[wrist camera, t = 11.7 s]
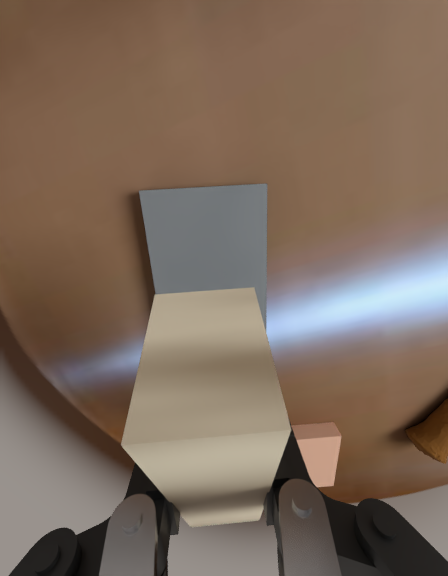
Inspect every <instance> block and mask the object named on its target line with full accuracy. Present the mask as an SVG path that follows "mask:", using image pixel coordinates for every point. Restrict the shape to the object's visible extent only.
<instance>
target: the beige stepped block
mask: <svg viewBox="0 0 448 576" xmlns="http://www.w3.org/2000/svg"><path fill="white" fill-rule="evenodd" d="M290 432H291V427H290V423H289V419H288V415H287V411H286V407H285V404H284V400H283V396H282V392H281V388H280V384H279V381H278V377H277V373H276V369H275V365H274V361H273V357H272V354H271V350H270V346H269V342H268V338H267V334H266V331H265V327H264V323H263V319H262V315H261V311H260V307H259V304H258V300H257V296H256V292H255V288H254V287H252V288H238V289H224V290H210V291H196V292H182V293H168V294H155V296H154V301H153V305H152V309H151V314H150V318H149V323H148V327H147V332H146V336H145V341H144V345H143V350H142V354H141V358H140V363H139V367H138V372H137V376H136V381H135V385H134V390H133V394H132V399H131V403H130V407H129V412H128V416H127V421H126V425H125V430H124V434H123V439H122V443H121V446H122V447H123V448H124V449H125V451H126V452H127V453H128V454H129V455H130V456H131V458H132V459H133V460H134V461H135V462H136V464H137V465H138V466H139V467H140V468H141V469H142V471H143V472H144V473H145V474H146V475H147V476H148V478H149V479H150V480H151V481H152V482H153V484H154V485H155V486H156V487H157V488H158V489H159V491H160V492H161V493H162V494H163V495H164V496H165V498H166V499H167V500H168V501H169V502H172V503H173V504H174V505H175V507H176V508H177V509H178V510H179V511H180V515H181V516H182V517H183V519H184V520H185V521H186V522H187V523H188V525H189V526H190V527H197V526H208V525H218V524H227V523H238V522H248V521H257V520H259V519H260V517H261V514H262V511H263V508H264V506H263V503H264V500H265V497H266V494H267V492H269V491H270V489H271V486H272V483H273V480H274V477H275V474H276V472H277V469H278V466H279V463H280V460H281V458H282V455H283V452H284V449H285V446H286V444H287V441H288V438H289V435H290Z"/></svg>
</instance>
